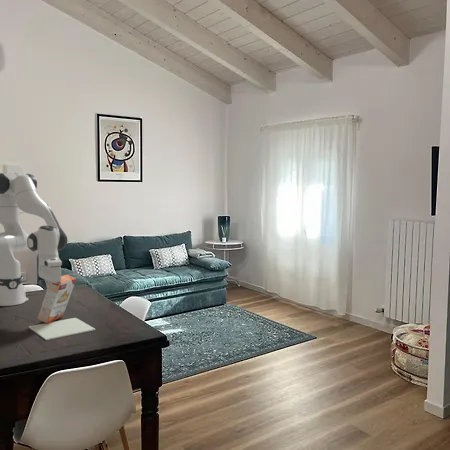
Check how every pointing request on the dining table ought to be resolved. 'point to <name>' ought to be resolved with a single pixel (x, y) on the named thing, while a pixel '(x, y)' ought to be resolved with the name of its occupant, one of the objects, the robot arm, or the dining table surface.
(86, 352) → the dining table surface
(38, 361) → the dining table surface
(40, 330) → the mat
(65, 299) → the cracker box
